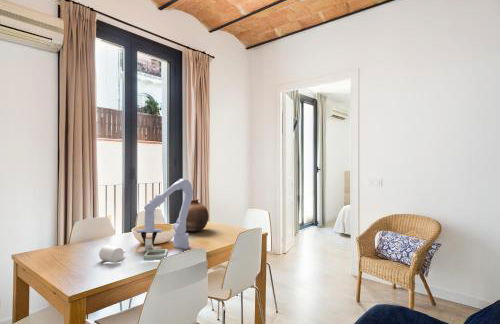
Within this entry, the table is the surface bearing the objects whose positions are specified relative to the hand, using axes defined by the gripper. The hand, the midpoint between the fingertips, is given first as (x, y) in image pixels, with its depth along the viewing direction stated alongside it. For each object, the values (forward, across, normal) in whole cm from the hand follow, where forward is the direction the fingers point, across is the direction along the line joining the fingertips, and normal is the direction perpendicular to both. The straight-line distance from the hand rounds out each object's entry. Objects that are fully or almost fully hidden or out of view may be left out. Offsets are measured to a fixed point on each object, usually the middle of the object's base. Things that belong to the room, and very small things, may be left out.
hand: (149, 244), depth 182 cm
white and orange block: (+2, 0, 0) cm, 2 cm away
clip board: (+4, 0, 0) cm, 4 cm away
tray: (+4, -6, +12) cm, 14 cm away
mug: (+4, +16, +15) cm, 22 cm away
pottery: (+4, -26, -49) cm, 56 cm away
